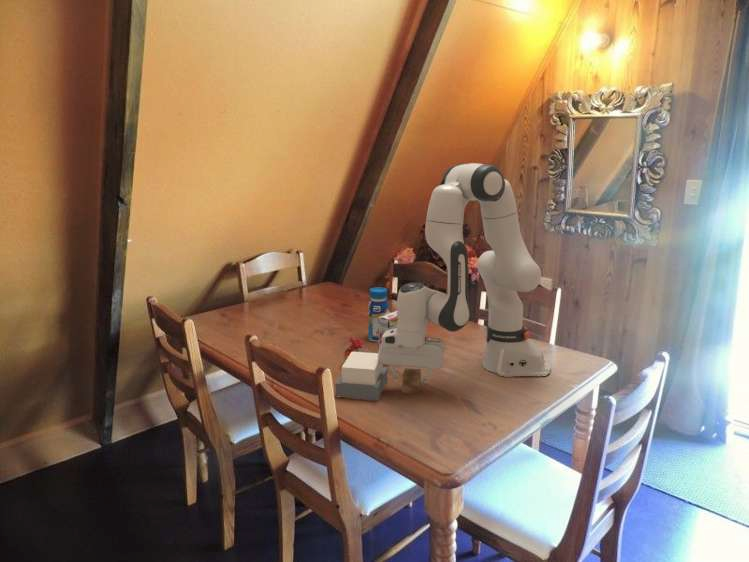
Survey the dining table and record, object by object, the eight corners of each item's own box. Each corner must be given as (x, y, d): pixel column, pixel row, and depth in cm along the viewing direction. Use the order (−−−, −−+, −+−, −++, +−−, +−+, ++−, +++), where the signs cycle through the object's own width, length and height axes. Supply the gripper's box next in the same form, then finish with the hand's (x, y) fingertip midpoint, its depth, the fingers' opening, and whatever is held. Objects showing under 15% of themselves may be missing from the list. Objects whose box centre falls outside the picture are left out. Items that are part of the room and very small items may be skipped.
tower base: (387, 381, 179) (387, 367, 178) (377, 402, 165) (377, 387, 164) (348, 378, 182) (348, 364, 181) (335, 398, 168) (335, 383, 167)
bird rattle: (342, 374, 189) (361, 370, 184) (331, 343, 189) (350, 338, 184) (354, 368, 194) (373, 364, 189) (343, 338, 194) (362, 333, 189)
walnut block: (420, 387, 174) (420, 369, 173) (418, 394, 169) (418, 375, 168) (404, 385, 175) (405, 368, 174) (402, 392, 170) (402, 374, 169)
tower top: (382, 368, 178) (382, 353, 176) (374, 385, 165) (374, 369, 164) (351, 366, 179) (351, 351, 178) (341, 382, 167) (341, 367, 166)
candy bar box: (389, 365, 191) (388, 319, 187) (377, 361, 194) (377, 317, 190) (408, 355, 200) (408, 312, 196) (397, 352, 203) (397, 309, 199)
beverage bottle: (376, 333, 223) (375, 285, 218) (393, 337, 218) (393, 288, 213) (363, 339, 216) (362, 290, 211) (381, 344, 211) (381, 293, 206)
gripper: (446, 335, 169) (445, 377, 172) (380, 330, 173) (380, 372, 176) (444, 342, 163) (443, 386, 166) (376, 337, 167) (376, 380, 170)
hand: (410, 379), depth 171 cm, fingers open, 8 cm apart
